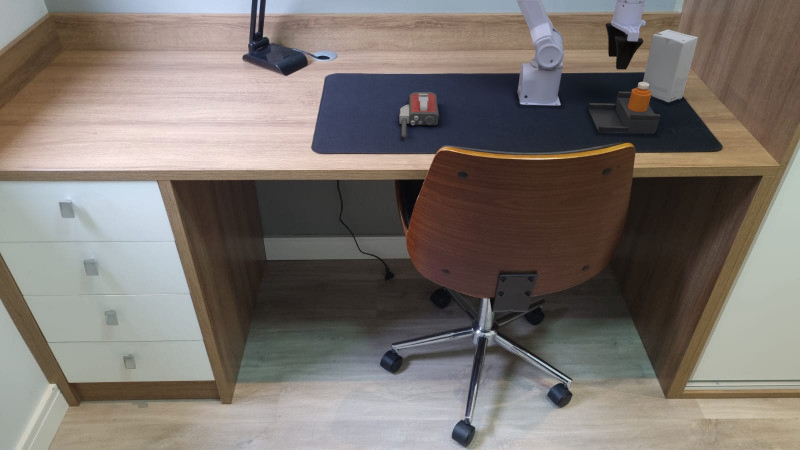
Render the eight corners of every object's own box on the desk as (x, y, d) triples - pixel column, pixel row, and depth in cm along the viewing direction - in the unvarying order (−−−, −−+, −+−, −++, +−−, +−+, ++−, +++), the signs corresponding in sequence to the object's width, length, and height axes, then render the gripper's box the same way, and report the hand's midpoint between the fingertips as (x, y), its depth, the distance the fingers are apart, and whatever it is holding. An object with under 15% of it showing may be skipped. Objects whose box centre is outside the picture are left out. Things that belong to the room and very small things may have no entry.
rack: (597, 134, 122) (602, 114, 119) (587, 110, 131) (591, 90, 128) (654, 135, 121) (660, 115, 118) (640, 111, 131) (645, 91, 128)
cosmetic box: (682, 98, 136) (701, 37, 127) (666, 105, 133) (685, 42, 124) (652, 87, 141) (669, 27, 132) (637, 92, 139) (653, 32, 130)
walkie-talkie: (400, 102, 136) (398, 142, 120) (400, 84, 133) (398, 123, 117) (436, 102, 135) (440, 142, 119) (437, 84, 133) (440, 123, 117)
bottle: (630, 111, 122) (636, 87, 119) (625, 103, 126) (631, 79, 122) (649, 112, 122) (656, 87, 119) (644, 104, 125) (651, 80, 122)
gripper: (660, 10, 113) (644, 75, 121) (641, -10, 124) (627, 51, 133) (624, 10, 113) (610, 74, 122) (608, -10, 125) (596, 50, 133)
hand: (617, 62), depth 127 cm, fingers open, 7 cm apart
